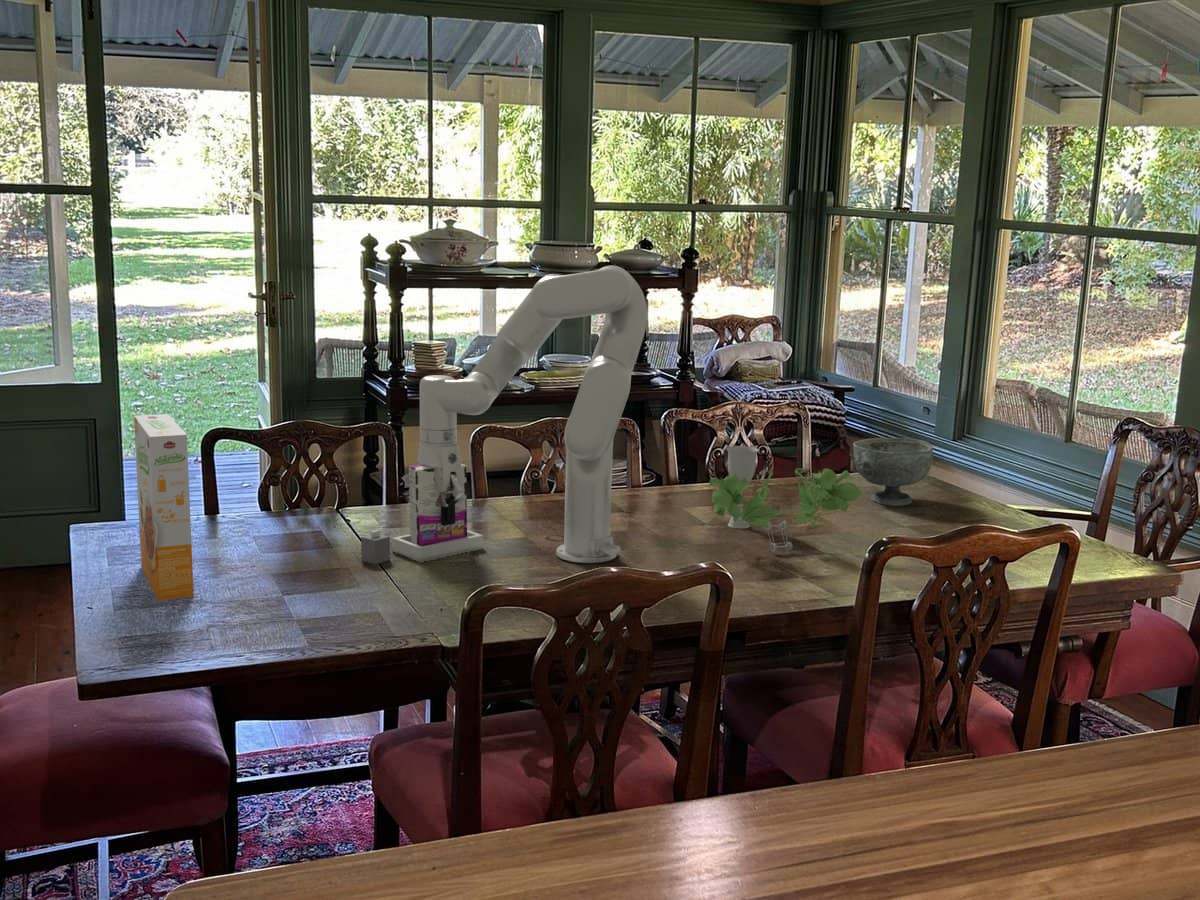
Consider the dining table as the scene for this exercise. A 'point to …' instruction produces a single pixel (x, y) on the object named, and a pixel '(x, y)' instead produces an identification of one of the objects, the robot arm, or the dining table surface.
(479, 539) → the tray
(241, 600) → the dining table surface
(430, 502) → the candy bar box
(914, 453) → the bowl
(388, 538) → the brick
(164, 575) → the cereal box
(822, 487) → the plant cuttings
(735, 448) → the chalice
